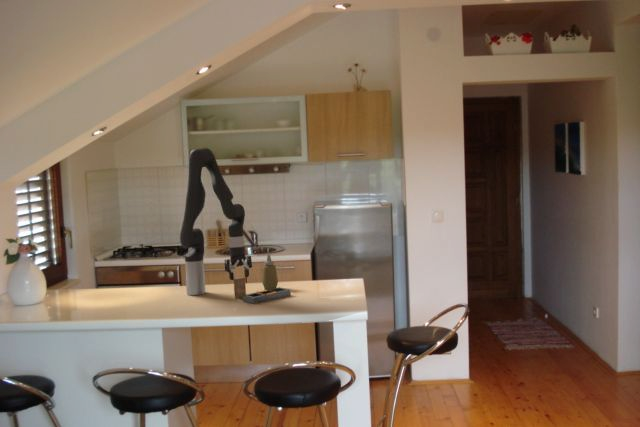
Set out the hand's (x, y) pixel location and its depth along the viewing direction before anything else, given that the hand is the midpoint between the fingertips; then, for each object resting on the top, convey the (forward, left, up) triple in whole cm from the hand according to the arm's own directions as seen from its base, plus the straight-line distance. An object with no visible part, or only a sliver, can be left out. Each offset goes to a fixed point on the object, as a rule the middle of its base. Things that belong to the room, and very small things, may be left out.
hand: (239, 278), depth 342 cm
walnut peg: (0, 0, -10) cm, 10 cm away
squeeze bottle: (-5, +22, -10) cm, 25 cm away
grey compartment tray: (+11, +8, -10) cm, 17 cm away
